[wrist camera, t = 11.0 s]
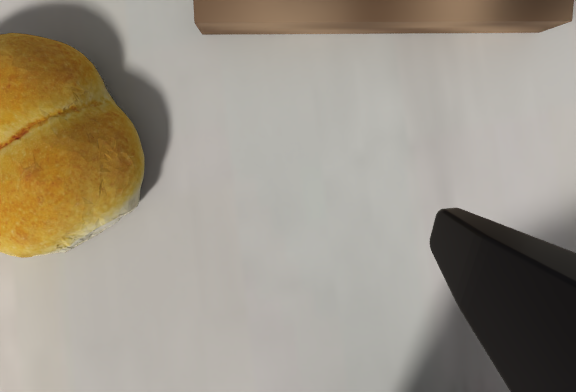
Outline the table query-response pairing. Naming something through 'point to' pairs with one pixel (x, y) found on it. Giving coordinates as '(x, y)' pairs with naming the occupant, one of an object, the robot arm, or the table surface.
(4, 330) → the table surface
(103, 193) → the bread roll
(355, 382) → the table surface
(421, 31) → the walnut tray
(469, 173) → the table surface
